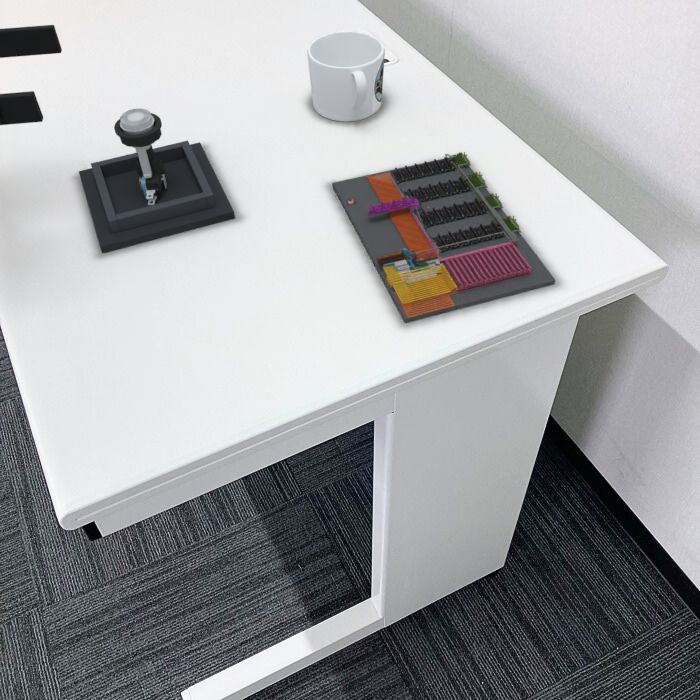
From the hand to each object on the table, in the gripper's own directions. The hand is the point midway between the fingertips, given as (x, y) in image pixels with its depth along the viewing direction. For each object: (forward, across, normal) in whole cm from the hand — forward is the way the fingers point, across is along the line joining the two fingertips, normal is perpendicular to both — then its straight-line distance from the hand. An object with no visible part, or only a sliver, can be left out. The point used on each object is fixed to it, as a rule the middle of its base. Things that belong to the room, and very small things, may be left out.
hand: (48, 70), depth 74 cm
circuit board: (+39, +6, -20) cm, 45 cm away
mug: (+33, -22, -20) cm, 44 cm away
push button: (+6, -5, -19) cm, 21 cm away
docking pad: (+6, -5, -20) cm, 22 cm away
